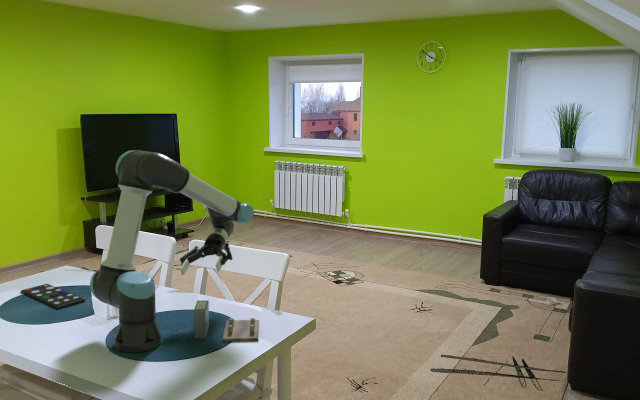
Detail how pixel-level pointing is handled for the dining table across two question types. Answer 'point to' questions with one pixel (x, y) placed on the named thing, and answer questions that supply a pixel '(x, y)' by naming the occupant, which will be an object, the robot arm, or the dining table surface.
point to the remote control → (53, 296)
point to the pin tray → (241, 330)
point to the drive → (201, 319)
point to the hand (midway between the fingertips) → (199, 270)
